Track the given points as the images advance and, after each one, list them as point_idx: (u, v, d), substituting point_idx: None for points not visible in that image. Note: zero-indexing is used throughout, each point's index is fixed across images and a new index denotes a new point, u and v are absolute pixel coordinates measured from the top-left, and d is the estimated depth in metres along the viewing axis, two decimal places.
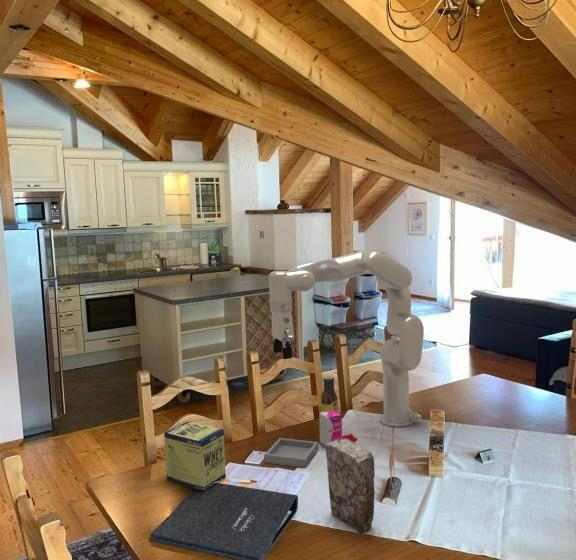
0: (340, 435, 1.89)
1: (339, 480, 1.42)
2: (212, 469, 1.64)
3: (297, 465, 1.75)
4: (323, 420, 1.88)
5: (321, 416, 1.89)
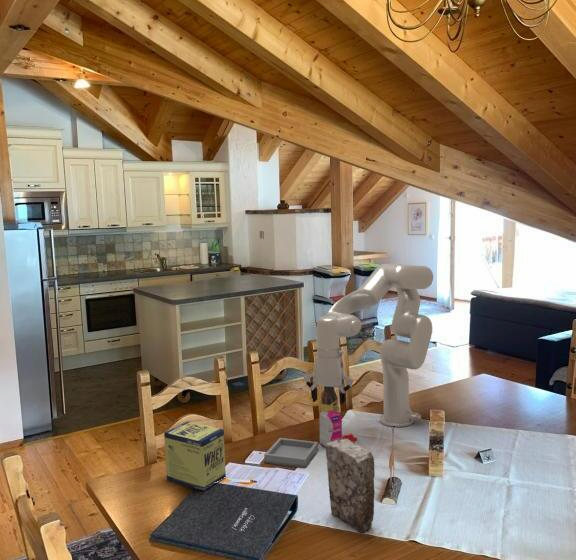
0: (340, 435, 1.89)
1: (339, 480, 1.42)
2: (212, 469, 1.64)
3: (297, 465, 1.75)
4: (323, 420, 1.88)
5: (321, 416, 1.89)
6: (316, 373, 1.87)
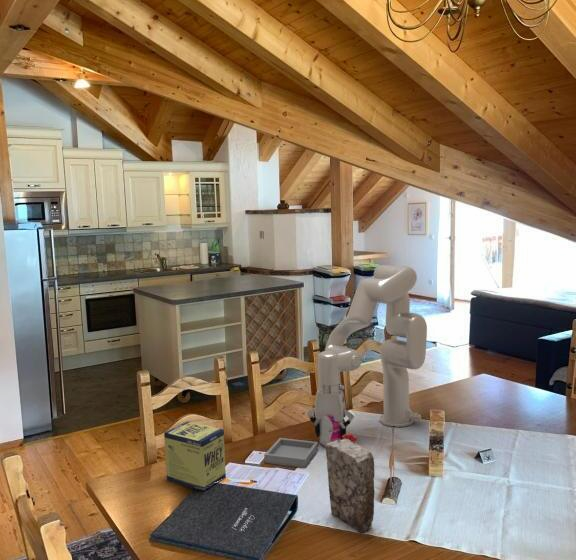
0: None
1: (339, 480, 1.42)
2: (212, 469, 1.64)
3: (297, 465, 1.75)
4: (323, 420, 1.88)
5: None
6: (318, 408, 1.88)
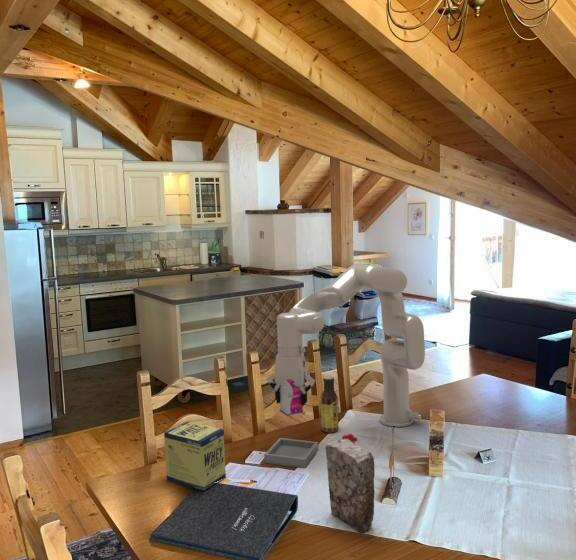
0: None
1: (339, 480, 1.42)
2: (212, 469, 1.64)
3: (297, 465, 1.75)
4: (283, 385, 1.79)
5: None
6: (277, 372, 1.79)
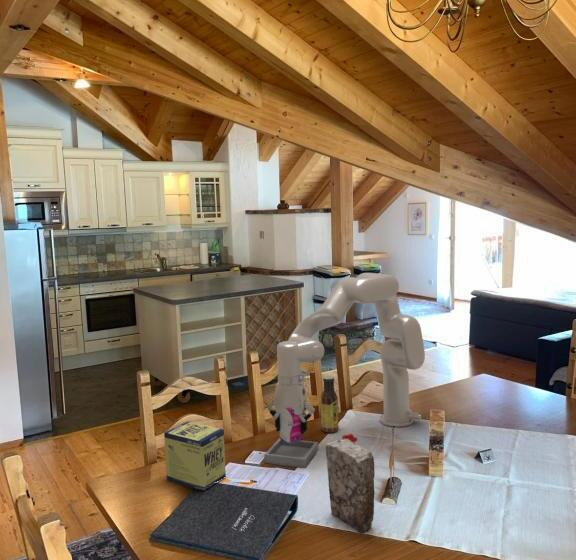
0: (300, 429, 1.80)
1: (339, 480, 1.42)
2: (212, 469, 1.64)
3: (297, 465, 1.75)
4: (283, 413, 1.80)
5: None
6: (277, 400, 1.80)
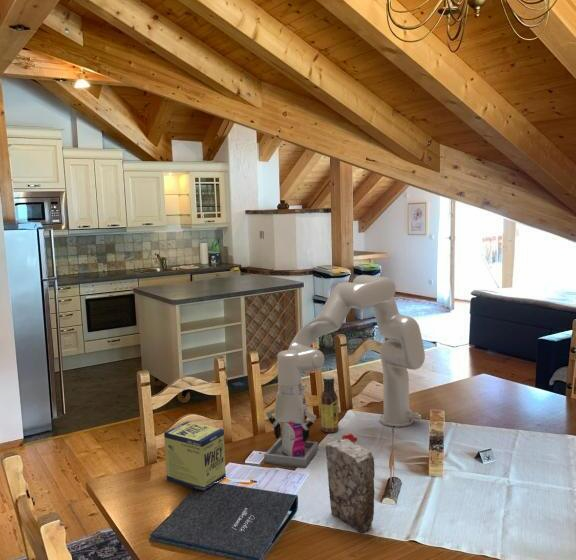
0: (303, 443, 1.81)
1: (339, 480, 1.42)
2: (212, 469, 1.64)
3: (297, 465, 1.75)
4: (285, 428, 1.80)
5: (283, 423, 1.82)
6: (278, 409, 1.80)
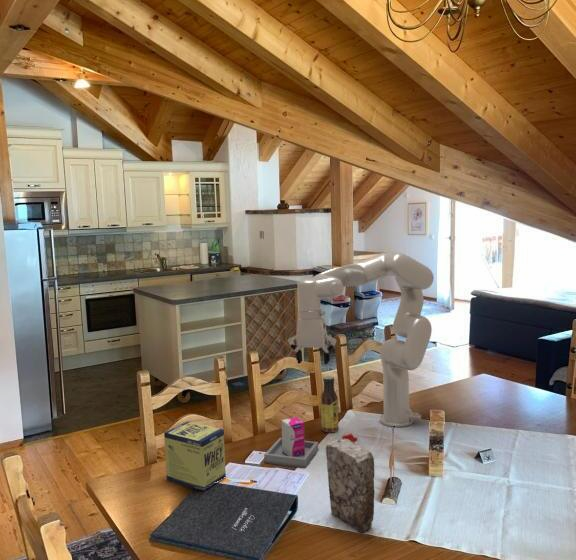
0: (303, 443, 1.81)
1: (339, 480, 1.42)
2: (212, 469, 1.64)
3: (297, 465, 1.75)
4: (285, 428, 1.80)
5: (283, 423, 1.82)
6: (299, 335, 1.90)
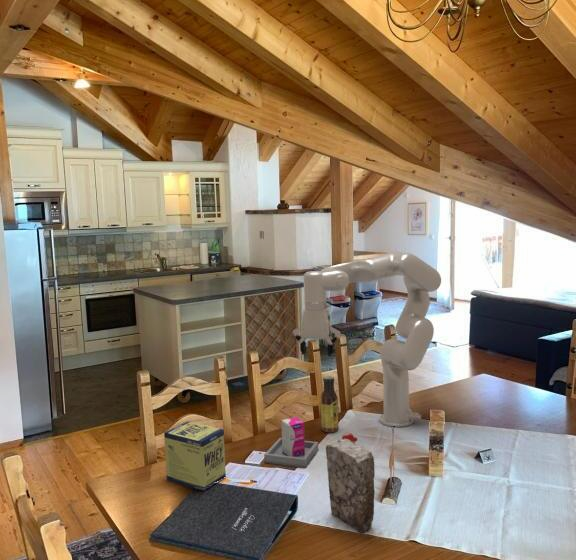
0: (303, 443, 1.81)
1: (339, 480, 1.42)
2: (212, 469, 1.64)
3: (297, 465, 1.75)
4: (285, 428, 1.80)
5: (283, 423, 1.82)
6: (304, 326, 1.93)
